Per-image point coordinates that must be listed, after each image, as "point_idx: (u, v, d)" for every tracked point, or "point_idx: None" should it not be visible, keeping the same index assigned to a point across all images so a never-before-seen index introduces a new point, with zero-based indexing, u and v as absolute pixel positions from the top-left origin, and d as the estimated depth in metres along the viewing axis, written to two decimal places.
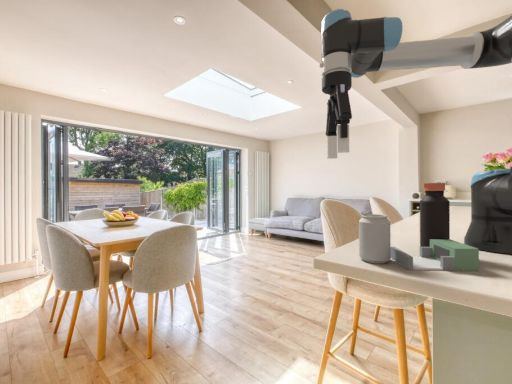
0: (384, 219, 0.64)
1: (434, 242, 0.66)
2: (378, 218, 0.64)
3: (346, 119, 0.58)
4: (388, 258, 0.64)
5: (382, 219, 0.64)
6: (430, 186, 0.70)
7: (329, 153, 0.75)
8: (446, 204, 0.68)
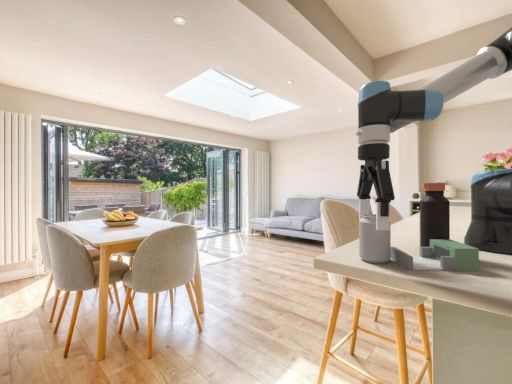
0: None
1: (434, 242, 0.66)
2: None
3: (388, 200, 0.57)
4: (388, 258, 0.64)
5: None
6: (430, 186, 0.70)
7: (361, 217, 0.73)
8: (446, 204, 0.68)
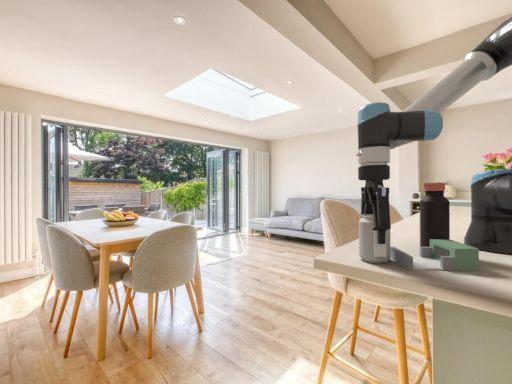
0: None
1: (434, 242, 0.66)
2: None
3: (385, 229, 0.60)
4: (388, 258, 0.64)
5: None
6: (430, 186, 0.70)
7: None
8: (446, 204, 0.68)
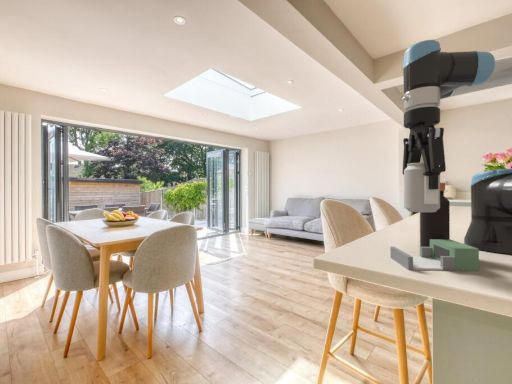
0: None
1: (434, 242, 0.66)
2: None
3: (439, 172, 0.56)
4: (438, 206, 0.60)
5: None
6: None
7: None
8: (446, 204, 0.68)
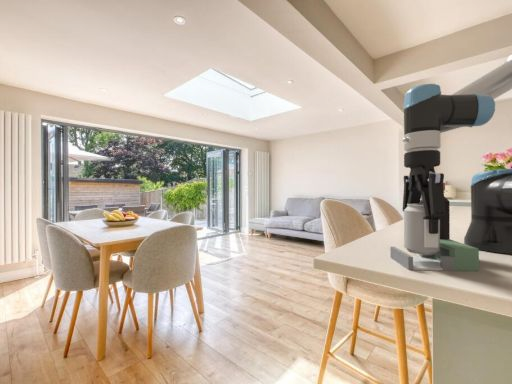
0: None
1: None
2: None
3: (439, 217, 0.57)
4: (438, 249, 0.60)
5: None
6: None
7: None
8: (446, 204, 0.68)
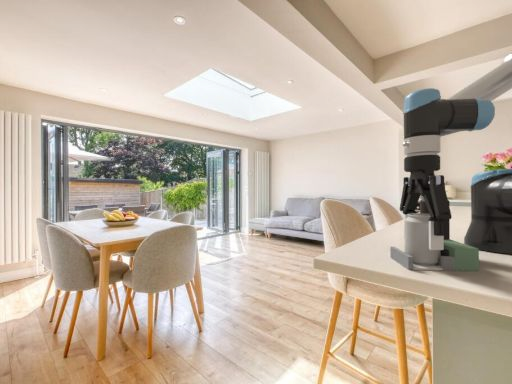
0: None
1: None
2: (428, 217, 0.60)
3: (444, 219, 0.55)
4: (439, 260, 0.60)
5: None
6: None
7: None
8: None
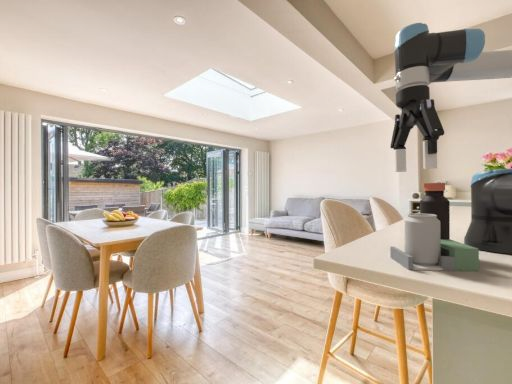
0: (435, 218, 0.61)
1: None
2: (428, 217, 0.60)
3: (437, 135, 0.58)
4: (439, 260, 0.60)
5: (433, 218, 0.60)
6: (430, 186, 0.70)
7: (398, 166, 0.74)
8: (446, 204, 0.68)
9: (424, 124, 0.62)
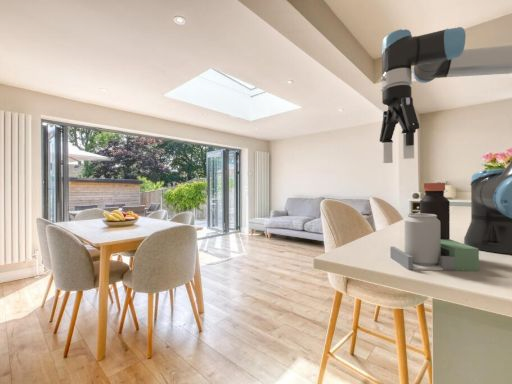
0: (435, 218, 0.61)
1: None
2: (428, 217, 0.60)
3: (413, 129, 0.66)
4: (439, 260, 0.60)
5: (433, 218, 0.60)
6: (430, 186, 0.70)
7: (385, 158, 0.82)
8: (446, 204, 0.68)
9: (404, 119, 0.70)
